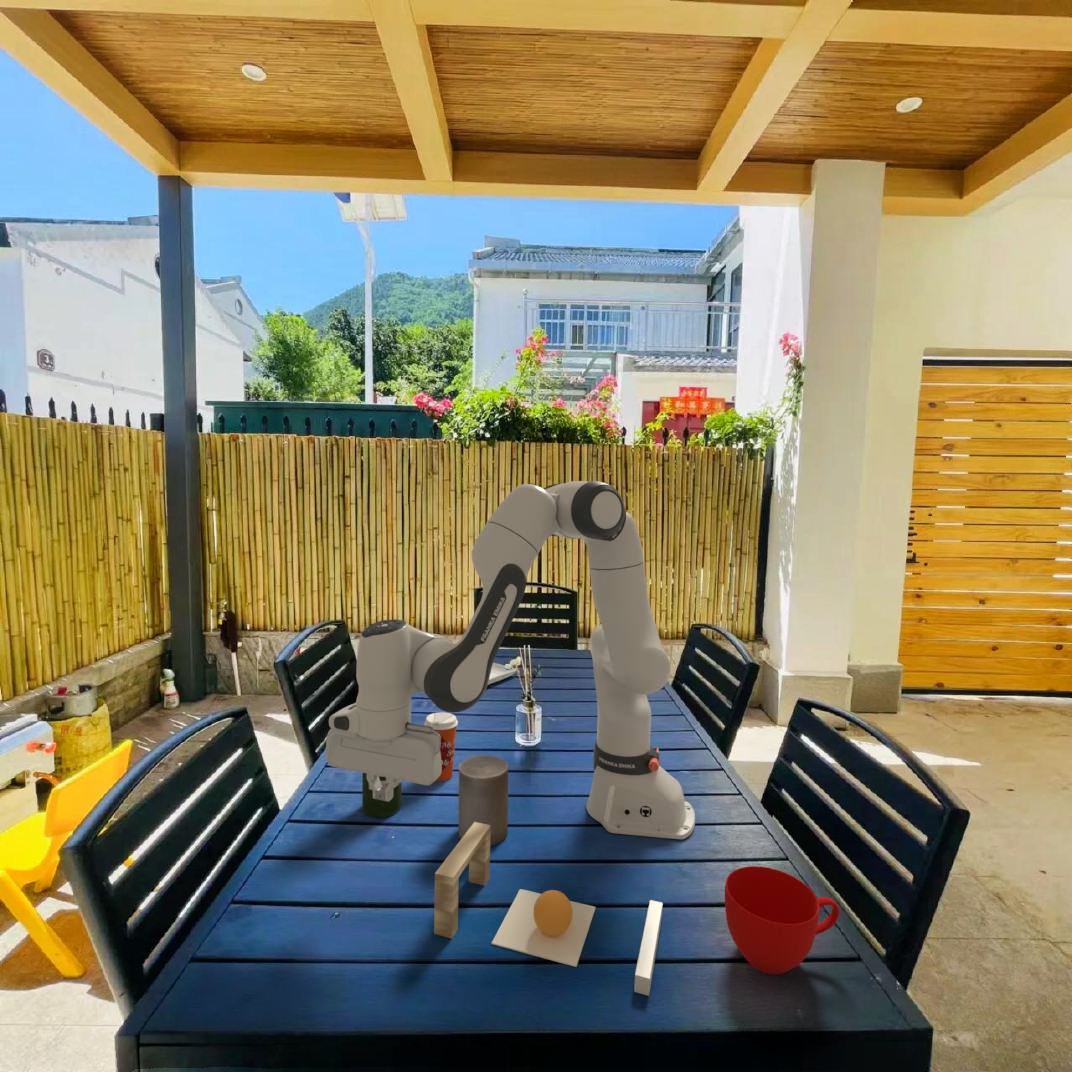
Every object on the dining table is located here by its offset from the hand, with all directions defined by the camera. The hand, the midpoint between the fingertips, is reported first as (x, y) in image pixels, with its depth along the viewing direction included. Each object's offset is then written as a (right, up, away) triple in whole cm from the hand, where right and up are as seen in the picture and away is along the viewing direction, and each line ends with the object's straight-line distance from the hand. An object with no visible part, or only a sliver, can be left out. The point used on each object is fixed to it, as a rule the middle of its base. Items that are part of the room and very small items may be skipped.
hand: (383, 798), depth 104 cm
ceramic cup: (+62, -18, -12) cm, 66 cm away
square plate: (+1, -6, +110) cm, 110 cm away
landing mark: (+27, -17, -7) cm, 33 cm away
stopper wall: (+42, -18, -12) cm, 47 cm away
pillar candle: (+15, -14, +17) cm, 27 cm away
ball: (+28, -14, -9) cm, 33 cm away
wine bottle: (-6, -13, +25) cm, 29 cm away
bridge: (+14, -16, -3) cm, 21 cm away
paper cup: (+3, -12, +40) cm, 42 cm away
